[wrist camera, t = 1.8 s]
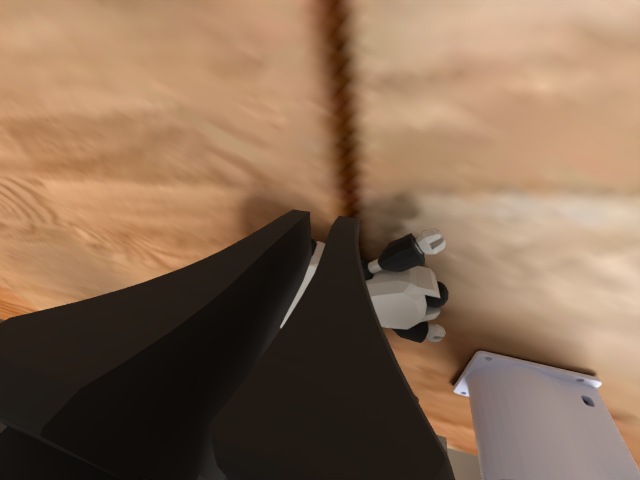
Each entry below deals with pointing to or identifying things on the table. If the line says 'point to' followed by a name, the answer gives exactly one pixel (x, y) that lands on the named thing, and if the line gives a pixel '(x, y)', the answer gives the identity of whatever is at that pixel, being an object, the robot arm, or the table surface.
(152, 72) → the table surface
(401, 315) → the robot toy
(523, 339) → the table surface
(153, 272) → the table surface
